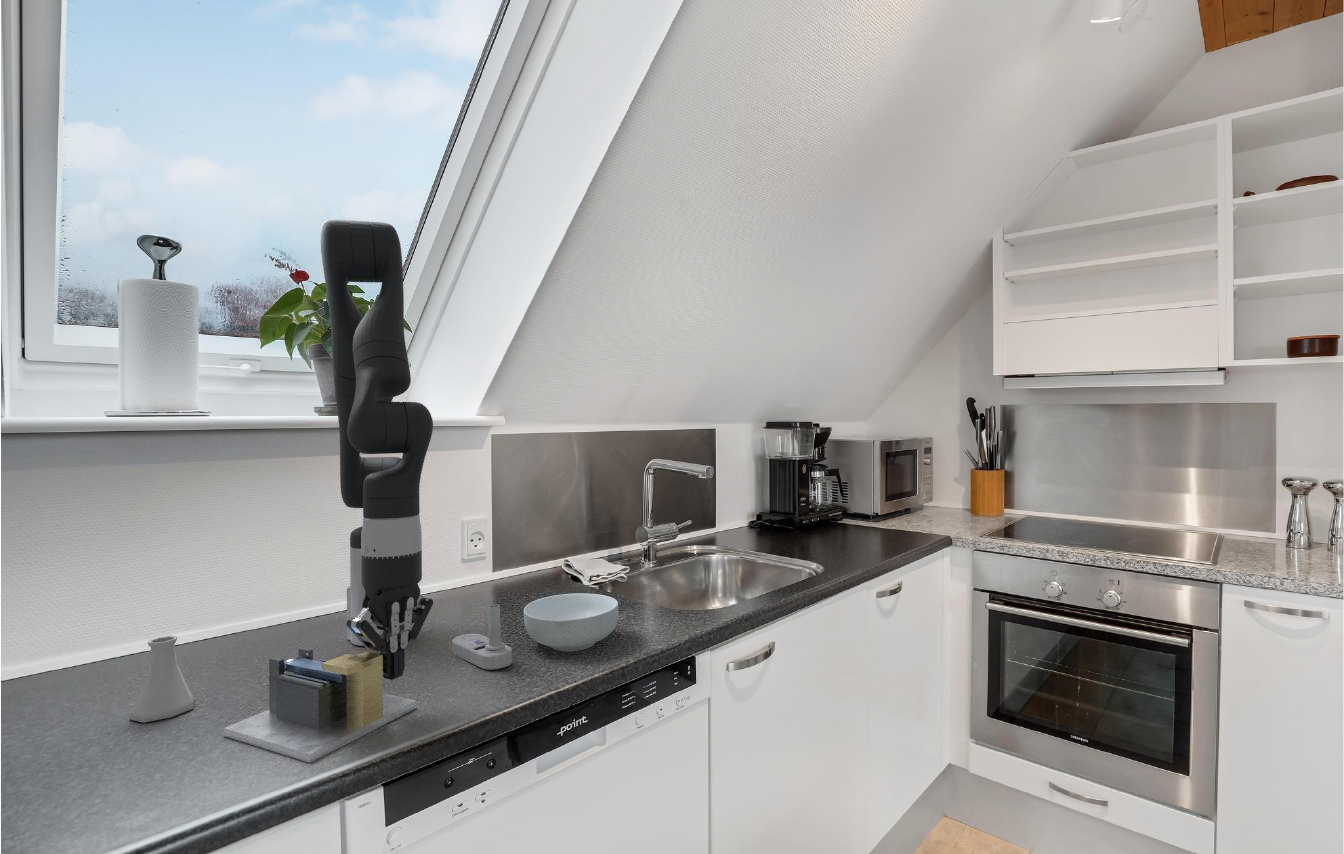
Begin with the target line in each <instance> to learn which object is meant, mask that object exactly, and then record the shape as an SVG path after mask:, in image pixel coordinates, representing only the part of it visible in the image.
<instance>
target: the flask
mask: <svg viewBox="0 0 1344 854" xmlns="http://www.w3.org/2000/svg"><path fill="white" fill-rule="evenodd" d="M177 641H178V636H176V635H172V634H171V635H165V636H164V635H163V636H157V637H154V638H151V639H149V640H148V643H147V645H148V647H150V659H149V664H148V670H147V672H146V675H145V678H144V681H143V684H142V686H141V689H140V692H139V694H138V698H137V699H136V702H135V704H134V706H133V710H132V711H131V714H130V717H129V720H131V721H136V722H139V723H148V722H154V721H158V720H159V721H160V720H163V719H169V718H173V717H175V716H178V715H180V714H183V713H186V712H188V711H190V710H193V709H194V708H195V703H196V700H195V698H194V696H193V694H192V692H191V690H190V688H189V685H188V684H187V681H186V680H185V677H184V675H183V674H182V671H181V668H180V666H179V664H178V660H177V656H176V651H175V649H176V648H175V644H176V643H177Z"/></svg>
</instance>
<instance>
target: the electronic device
mask: <svg viewBox="0 0 1344 854" xmlns="http://www.w3.org/2000/svg"><path fill="white" fill-rule="evenodd" d="M500 606H501V605H500V604H491V605H488V607H487V608H488V625H487V627H488V628H487V631H488V632H487V635H488V637H487V636H485V635H483V634H480V633H465V634H461V635H457V636H455V637H454V638H453V639H451V652H452V654H453V655H455V656H456V657H458V658H460V659H462V660H464V661H467V662H468V663H470V664H473V665H475V666H476V667H479V668H480V669H484V670H489V671H490V670H499V669H503V668H506V667H509V666H510V665H511V664H512V663H513V648H512V647H511V646H509V645H507V644H505V642H503V641H502V624H501V607H500Z"/></svg>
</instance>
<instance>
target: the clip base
mask: <svg viewBox="0 0 1344 854" xmlns="http://www.w3.org/2000/svg"><path fill="white" fill-rule="evenodd" d="M298 656H303V658H305V659H310V660H314V649H313V648H309V647H299V648H298ZM284 661H285V659H284V658H282V657H281V658H280V657H277V656H273V657H270V658H268V671H269V672H268V674H269V675H268V680H269V681H268V685H269V687H268V688H269V689H268V690H269V691H268V694H269V695H268V696H269V698H268V699H269V700H268V702H269V704H268V706H269V709H267V710H265V711H261V712H260V713H257V714H255V715H252V716H249V717H247V718H245V719H243V720H240V721H238V722H236V723H233V724H230V725H228V726H225V727H223V737H226V738H230V739H233V740H236V741H239V742H241V743H244V744H249V745H251V746H254V747H258V748H260V749H263V750H267V751H271V752H274V753H277V754H280V755H284V756H286V757H290V758H292V759H293V758H294V759H297V760H299V761H302V762H306V763H309V764H310V763H313V762H315V761H316V760H319V759H320V758H322V757H325V756H326V755H328V754H330V753H332V752H334V751H336V750H338V749H340V748H342V747H344V746H345V745H347V744H350V743H351V742H353V741H355V740H357V739H359V738H361V737H364V736H365V735H368V734H369V733H371V732H373V731H375V730H377V729H378V728H380V727H382V726H385V725H386V724H388V723H390V722H392V721H394V720H396V719H398V718H400V717H402V716H403V715H405V714H407V713H409V712H411V711H413V710H415V709H417V699H415V700H414V699H411V698H406V697H402V696H397V695H393V694H389V693H385V692H383V718H381V719H379V720H377V721H375V722H373V723H371V724H369V725H367V726H365V727H360V726H356V725H353V724H349V723H347V680H345V681H342V682H336V681H331V680H326V679H321V678H316V677H311V676H306V675H301V674H296V673H291V672H284ZM319 661H321V662H327V661H330V659H329V660H328V659H323V658H322V659H320V660H319Z"/></svg>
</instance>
